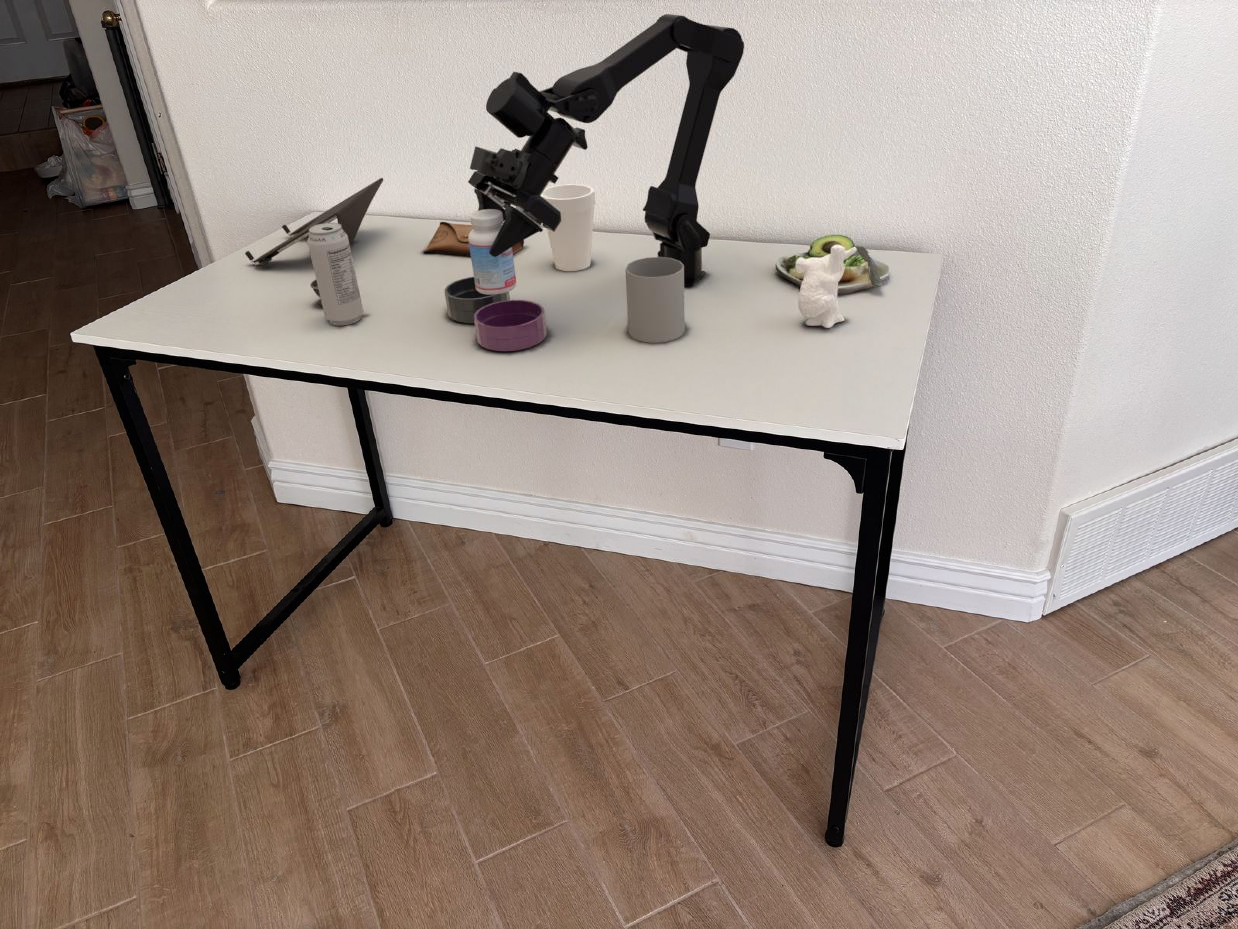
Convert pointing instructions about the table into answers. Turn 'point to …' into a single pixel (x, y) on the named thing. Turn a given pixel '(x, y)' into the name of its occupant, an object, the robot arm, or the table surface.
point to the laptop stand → (344, 212)
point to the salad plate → (857, 266)
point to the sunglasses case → (456, 240)
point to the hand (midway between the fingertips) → (482, 249)
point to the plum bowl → (510, 325)
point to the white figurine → (822, 286)
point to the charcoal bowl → (468, 300)
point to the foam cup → (572, 225)
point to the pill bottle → (488, 269)
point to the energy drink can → (335, 273)
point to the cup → (655, 299)
